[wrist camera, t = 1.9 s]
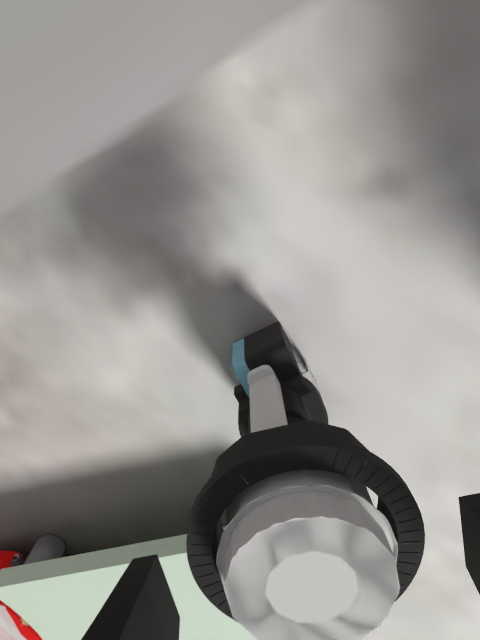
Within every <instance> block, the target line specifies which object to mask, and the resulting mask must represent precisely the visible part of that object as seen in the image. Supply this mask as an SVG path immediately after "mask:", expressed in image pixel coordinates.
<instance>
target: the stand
mask: <svg viewBox="0 0 480 640" xmlns="http://www.w3.org/2000/svg"><path fill="white" fill-rule="evenodd" d="M225 528H226V527H223V529H224V530H225ZM186 540H187V534H184V535H179V536H173V537H168V538H163V539H157V540H152V541H147V542H141V543H136V544H131V545H126V546H120V547H115V548H110V549H104V550H99V551H94V552H88V553H83V554H78V555H72V556H67V557H62V556H63V554H64V552H65V544H64V542H63V541H62V539H60V538H59V537H57V536H55V535H43V536H41V537H40V538H39V539H38V540H37V542H36V543H35V545H34V547H33V549H32V550H31V552H30V554H29V555H28V557H27V559H26V561H25V562H24V564H23V565H19V566H14V567H9V568H3V569H1V570H0V600H1V601H2V602H3V603H5V604H6V605H7V606H9V607H10V608H11V609H12V610H14V611H15V612H16V613H17V614H18V615H19V616H21V617H22V618H23V619H24V620H25V621H26V622H27V623H28V624H29V625H30V626H31V627H32V628H33V629H34V630H35V631H36V632H37V633H38V634H39V636H40V637H41V638H42V640H81V639H82V637H83V636H84V634H85V633H86V631H87V630H88V628H89V627H90V625H91V624H92V622H93V621H94V619H95V618H96V616H97V614H98V613H99V611H100V610H101V608H102V607H103V605H104V603H105V602H106V600H107V599H108V597H109V595H110V594H111V592H112V591H113V589H114V587H115V586H116V584H117V583H118V581H119V579H120V578H121V576H122V575H123V573H124V572H125V570H126V568H127V567H128V565H129V564H130V562H131V561H132V559H134V558H139V557H144V556H150V555H155V554H157V555H158V558H159V561H160V564H161V566H162V569H163V572H164V574H165V577H166V580H167V583H168V585H169V588H170V591H171V594H172V596H173V599H174V602H175V605H176V607H177V610H178V613H179V616H180V628H179V640H257V639H256V638H255V637H254V636H252V635H251V634H250V633H249V632H248V631H247V630H246V629H245V628H244V627H243V626H242V625H241V624H239V623H238V622H237V621H235V620H233V619H232V618H230V617H228V616H227V615H225V614H224V613H223V612H221V611H220V610H219V609H217V608H216V607H215V606H214V605H213V604H212V603H211V602H210V601H209V600H208V599H207V598H206V596H205V595H204V594H203V593H202V591H201V590H200V588H199V587H198V585H197V583H196V581H195V580H194V578H193V575H192V573H191V570H190V567H189V563H188V559H187V550H186Z"/></svg>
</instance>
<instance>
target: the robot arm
mask: <svg viewBox="0 0 480 640" xmlns="http://www.w3.org/2000/svg"><path fill="white" fill-rule="evenodd" d="M459 505H460V514H461V524H462V533H463V543H464V552H465V562H466V567H467V569H468V571H469V573H470V576H471V578H472V580H473V582H474V584H475V586H476V588H477V590H478V592H479V594H480V493H478V494H473V495H467V496H462V497H459ZM179 628H180V616H179V613H178V610H177V607H176V605H175V602H174V599H173V596H172V594H171V591H170V588H169V585H168V583H167V580H166V577H165V574H164V572H163V569H162V566H161V564H160V561H159V558H158V555H157V554H155V555H150V556H144V557H139V558H134V559H132V561H131V562H130V564H129V565H128V567H127V568H126V570H125V572H124V573H123V575H122V576H121V578H120V579H119V581H118V583H117V584H116V586H115V587H114V589H113V591H112V592H111V594H110V595H109V597H108V599H107V600H106V602H105V603H104V605H103V607H102V608H101V610H100V611H99V613H98V614H97V616H96V618H95V619H94V621H93V622H92V624H91V625H90V627H89V628H88V630H87V631H86V633H85V634H84V636H83V637H82V639H81V640H179Z"/></svg>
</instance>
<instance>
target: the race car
mask: <svg viewBox="0 0 480 640" xmlns="http://www.w3.org/2000/svg"><path fill="white" fill-rule="evenodd" d="M26 559H27V558H25V557H23V555H21V554H20V553H18V552H15V551H0V570H1V569H3V568H9V567H14V566H19V565H23V564H24V562H25V561H26ZM0 640H42V638H41V637H40V636H39V634H38V633H37V632H36V631H35V630H34V629H33V628H32V627H31V626H30V625H29V624H28V623H27V622H26V621H25V620H24V619H23V618H22V617H21V616H19V615H18V614H17V613H16V612H15V611H14V610H12V609H11V608H10V607H9V606H7V605H6V604H5V603H3V602H2V601H1V600H0Z"/></svg>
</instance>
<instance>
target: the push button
mask: <svg viewBox="0 0 480 640" xmlns="http://www.w3.org/2000/svg"><path fill="white" fill-rule="evenodd" d="M232 348H233V351H232V366H233V369H234V371H235V373H236V375H237V377H238V379H239V381H240V383H241V384H240V385H238V386H236V387H235V388H234V395H235V397H236V399H237V401H238V402H239V414H238V425H239V431H240V435H241V438H240V439H239V440H238V441H236V442H235V443H234V444H233V445H232V446H231V447H229V448H228V449H227V450H226V451H225V452H223V453H222V454H221V455H220V456H219V457H218V459H217V460H216V463H215V466H214V470H213V473H212V476H211V478H210V479H209V480H208V482H207V483H206V484H205V485H204V487H203V488H202V490H201V492H200V493H199V495H198V497H197V499H196V501H195V503H194V506H193V508H192V512H191V515H190V519H189V526H188V532H187V540H186V550H187V559H188V563H189V567H190V570H191V573H192V575H193V578H194V580H195V581H196V583H197V585H198V587H199V588H200V590H201V591H202V593H203V594H204V595H205V596H206V598H207V599H208V600H209V601H210V602H211V603H212V604H213V605H214V606H215V607H216V608H217V609H219V610H220V611H221V612H223V613H224V614H225V615H227V616H228V617H230V618H232V619H233V620H235V621H237V622H238V623H239V624H241V625H242V626H243V627H244V628H245V629H246V630H247V631H248V632H249V633H250V634H251V635H252V636H254V637H255V638H256V639H257V640H361V639H363V638H364V637H365V636H366V635H367V634H369V633H370V632H371V631H372V630H374V629H375V628H377V627H379V626H380V625H381V624H382V622H383V621H384V620H385V619H386V618H387V617H388V615H389V613H390V611H391V608H392V606H393V604H394V602H395V601H396V600H397V599H398V598H399V597H400V596H401V595H402V594H403V593H404V592H405V590H406V589H407V587H408V586H409V585H410V583H411V582H412V580H413V578H414V576H415V575H416V573H417V570H418V568H419V566H420V563H421V559H422V556H423V551H424V544H425V532H424V524H423V520H422V516H421V513H420V510H419V508H418V505H417V503H416V501H415V499H414V497H413V496H412V494H411V492H410V490H409V488H408V487H407V485H406V483H405V482H404V481H403V479H402V478H401V477H400V475H399V474H398V473H397V472H396V471H395V470H394V469H393V468H392V467H391V466H390V465H388V464H387V463H386V462H385V461H384V460H382V459H381V458H379V457H378V456H376V455H374V454H373V453H371V452H370V451H369V450H368V449H366V448H365V447H364V446H363V445H362V444H361V443H360V442H359V441H358V440H357V439H356V438H355V437H354V436H353V435H352V434H351V433H350V432H349V431H348V430H346V429H343V428H340V427H336V426H332V425H328V416H327V412H326V409H325V406H324V404H323V401H322V398H321V396H320V392H319V389H318V387H317V384H316V381H315V379H314V377H313V374H312V372H311V370H310V368H309V366H308V364H307V362H306V360H305V358H303V361H304V364H305V367H306V369H307V371H306V372H304V373H301V372H300V369H299V367H298V365H297V362H296V360H295V357H294V354H293V351H292V349H291V346H290V343H289V341H288V338H287V336H286V334H285V332H284V330H283V328H282V326H281V324H280V322H277V323H275V324H273V325H271V326H268V327H266V328H264V329H262V330H260V331H258V332H256V333H253V334H251V335H249V336H247V337H245V338H243V339H241V340H239V341H237V342H235V343H233V344H232ZM366 486H367V487H368V488H370V489H371V490H372V491H373V492H374V493H376V494H377V495H378V505H377V509H376V508H375V507H374V506H373V503H372V501H371V498H370V496H369V494H368V491H367V489H366ZM227 506H228V507H227ZM226 507H227V526H226V528H225V530H224V529H223V527H222V525H221V523H220V520H219V518H220V516H221V515H222V513H223V512H224V510H225V509H226Z"/></svg>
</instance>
